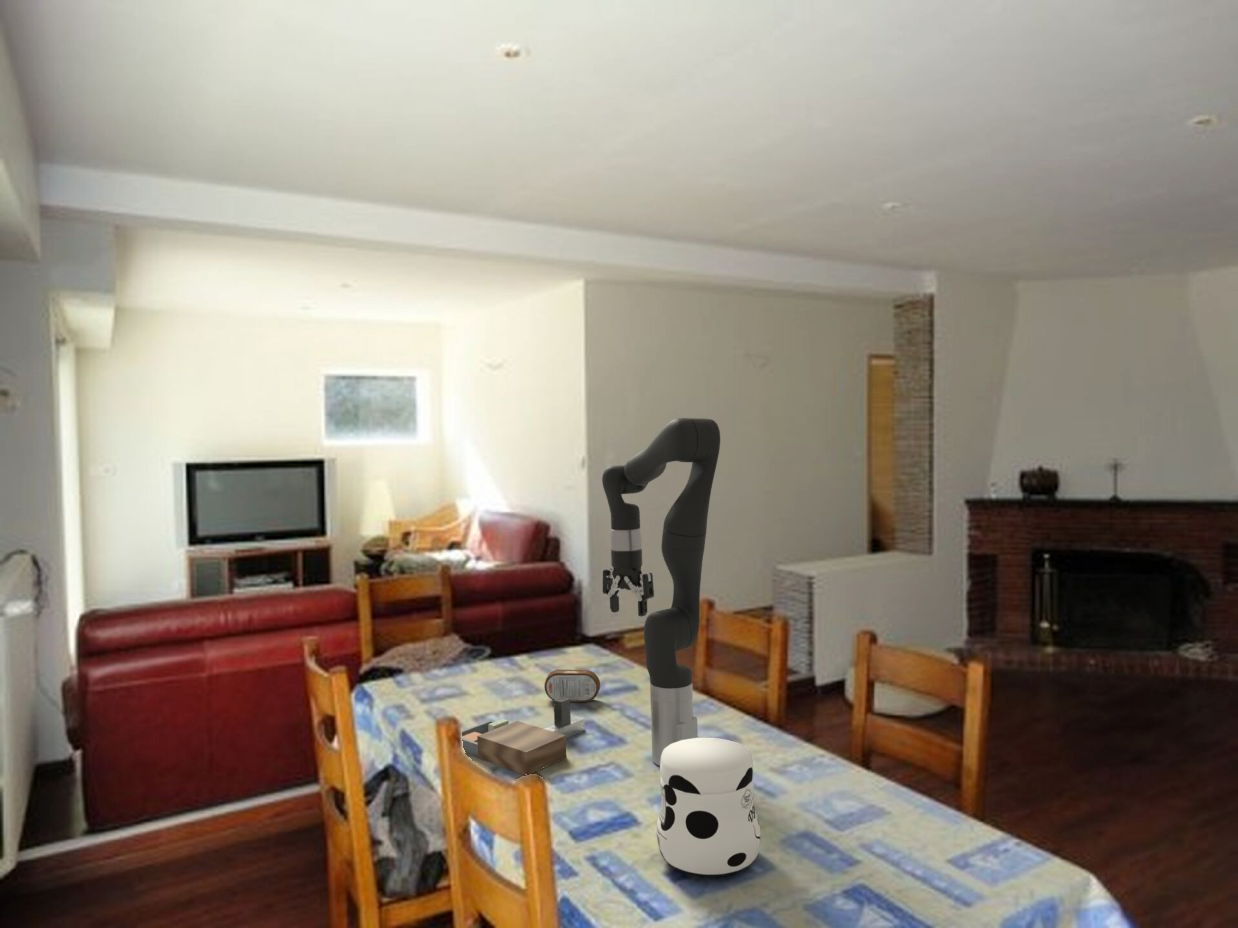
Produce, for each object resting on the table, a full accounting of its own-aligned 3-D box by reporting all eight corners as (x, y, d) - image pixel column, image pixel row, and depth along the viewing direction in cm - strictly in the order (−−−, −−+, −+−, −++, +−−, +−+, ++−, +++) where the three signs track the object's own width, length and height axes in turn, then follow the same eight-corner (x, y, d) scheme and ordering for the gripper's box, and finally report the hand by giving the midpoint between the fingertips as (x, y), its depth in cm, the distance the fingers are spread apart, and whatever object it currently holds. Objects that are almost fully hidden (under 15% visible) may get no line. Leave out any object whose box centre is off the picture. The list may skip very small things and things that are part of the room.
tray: (519, 740, 196) (518, 728, 196) (478, 757, 187) (477, 744, 187) (491, 731, 203) (491, 719, 203) (450, 747, 193) (449, 734, 193)
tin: (600, 699, 225) (599, 668, 225) (599, 703, 222) (598, 671, 222) (546, 699, 227) (545, 668, 226) (543, 703, 223) (542, 672, 223)
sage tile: (508, 720, 196) (502, 718, 197) (493, 725, 192) (488, 724, 194) (509, 739, 196) (503, 737, 197) (494, 744, 192) (488, 743, 194)
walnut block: (566, 757, 185) (565, 735, 185) (526, 775, 176) (526, 752, 176) (517, 741, 196) (517, 720, 196) (478, 757, 187) (477, 735, 186)
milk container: (782, 859, 139) (779, 753, 138) (712, 900, 128) (709, 785, 127) (706, 824, 152) (703, 727, 151) (636, 858, 141) (633, 754, 140)
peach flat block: (474, 731, 196) (475, 739, 196) (459, 737, 193) (459, 745, 193) (487, 735, 193) (487, 744, 193) (471, 741, 190) (472, 750, 190)
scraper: (584, 730, 202) (583, 694, 202) (549, 745, 193) (548, 707, 193) (575, 727, 204) (574, 691, 204) (540, 742, 195) (539, 704, 195)
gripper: (659, 547, 199) (661, 614, 200) (614, 543, 208) (616, 607, 209) (639, 551, 193) (641, 620, 194) (594, 547, 203) (596, 613, 203)
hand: (628, 613), depth 202 cm, fingers open, 8 cm apart
